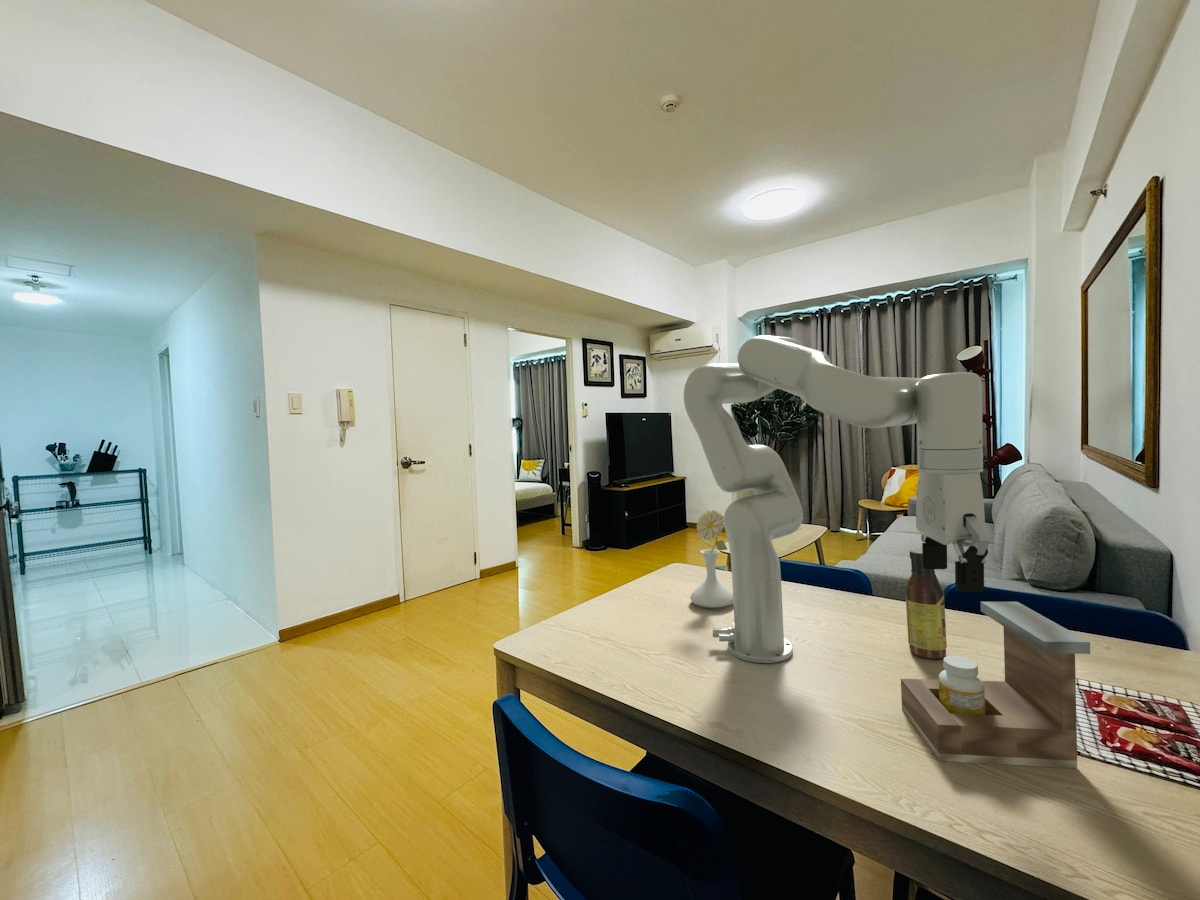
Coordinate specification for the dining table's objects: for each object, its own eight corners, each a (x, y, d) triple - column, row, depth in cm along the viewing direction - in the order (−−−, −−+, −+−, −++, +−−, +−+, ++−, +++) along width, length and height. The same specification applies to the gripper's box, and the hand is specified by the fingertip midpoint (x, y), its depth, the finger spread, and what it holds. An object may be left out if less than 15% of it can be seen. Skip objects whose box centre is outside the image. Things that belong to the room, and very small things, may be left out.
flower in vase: (683, 600, 132) (677, 507, 131) (720, 593, 135) (715, 503, 134) (707, 617, 119) (701, 515, 118) (748, 609, 123) (743, 509, 122)
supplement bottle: (984, 743, 68) (982, 675, 67) (937, 729, 71) (935, 664, 71) (986, 723, 72) (984, 659, 71) (942, 711, 75) (940, 650, 75)
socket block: (942, 765, 65) (938, 640, 65) (899, 705, 79) (895, 601, 78) (1092, 774, 62) (1090, 642, 61) (1020, 710, 76) (1017, 601, 75)
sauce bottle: (953, 661, 92) (950, 555, 91) (916, 660, 93) (912, 556, 92) (937, 645, 98) (933, 546, 97) (902, 644, 99) (898, 547, 98)
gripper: (896, 456, 79) (898, 561, 80) (950, 468, 62) (952, 601, 63) (948, 454, 78) (949, 561, 79) (1018, 465, 61) (1019, 601, 62)
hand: (951, 579), depth 71 cm, fingers open, 9 cm apart
